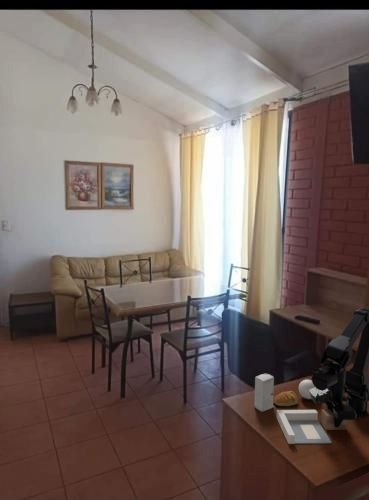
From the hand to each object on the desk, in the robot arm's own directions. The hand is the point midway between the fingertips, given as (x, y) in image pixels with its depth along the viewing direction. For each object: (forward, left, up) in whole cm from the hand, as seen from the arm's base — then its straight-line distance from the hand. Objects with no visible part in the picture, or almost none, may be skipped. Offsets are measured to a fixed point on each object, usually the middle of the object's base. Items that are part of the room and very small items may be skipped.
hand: (333, 423), depth 123 cm
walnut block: (0, 0, -1) cm, 1 cm away
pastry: (+12, -15, -2) cm, 20 cm away
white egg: (+1, -19, -1) cm, 19 cm away
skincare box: (+21, -12, -1) cm, 25 cm away
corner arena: (+12, +2, -1) cm, 12 cm away
